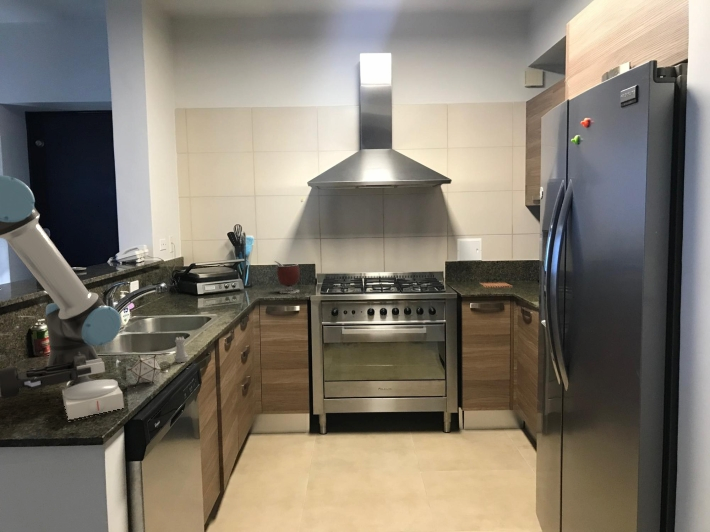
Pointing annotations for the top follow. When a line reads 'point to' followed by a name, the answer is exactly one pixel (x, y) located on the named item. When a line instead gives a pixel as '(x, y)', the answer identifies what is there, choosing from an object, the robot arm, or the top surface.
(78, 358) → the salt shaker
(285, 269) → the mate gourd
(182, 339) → the rook chess piece
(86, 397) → the kitchen scale
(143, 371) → the game die
